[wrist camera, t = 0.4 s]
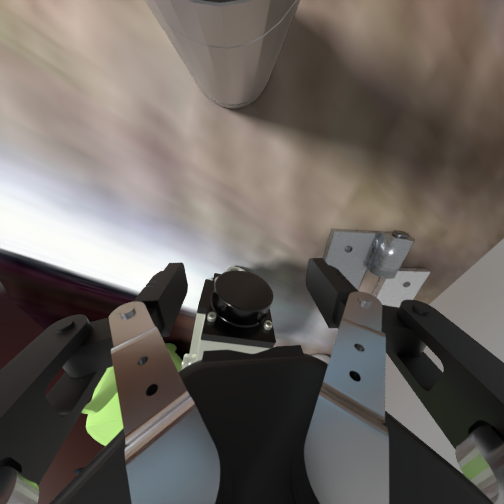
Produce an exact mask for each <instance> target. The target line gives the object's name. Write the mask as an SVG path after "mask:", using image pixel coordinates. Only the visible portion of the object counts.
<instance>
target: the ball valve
mask: <svg viewBox="0 0 504 504" xmlns="http://www.w3.org/2000/svg"><path fill="white" fill-rule="evenodd" d="M272 301H273V292H272V290H271V288H270V286H269V285H268V284H267V283H266V282H265V281H264V280H263V279H262V278H260V277H259V276H257V275H255V274H252V273H249V272H246V271H245V270H244V269H242V268H239V267H230V268H228V269H227V270H226V271H225V273H223V274H217V273H215V274H214V278H213V280H212V279H206V280H205V283H204V287H203V291H202V294H201V298H200V301H199V305H198V310H197V315H196V321H195V326H194V332H193V337H192V342H191V348H190V353H189V354H185V355H184V358H183V362H182V369H184V368H185V367H187V366H188V365H190V364H192V363H194V362H196V361H199V360H202V357H203V352H204V351H210V350H227V349H228V350H233V351H239V352H244V353H249V354H255V353H259V352H262V351H265V350H268V349H271V348H273V347H274V345H275V343H276V340H275V335H274V329H273V324H272V319H271V313H270V306H271V303H272Z"/></svg>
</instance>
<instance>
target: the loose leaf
mask: <svg viewBox="0 0 504 504" xmlns="http://www.w3.org/2000/svg"><path fill="white" fill-rule="evenodd" d="M429 274H430V271H428V270H427V269H425V268H400V269H399V270H398V272H397V274H396V276H395V278H393V279H386V278H382V277H381V278H380V280H379V282H378V284H377V286H376V288H375V290H374V292H373V294H372V296H374V297H376V298H377V299H378V300H379V301H380V302H381V303H382V305H387V306H393V307H400V304H401V302H402V301H403V300H413V298H414V297H415V295H416V294H417V292H418V291H419V289H420V288H421V286H422V285H423V283H424V281H425V280H426V278H427V277H428V275H429Z"/></svg>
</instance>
